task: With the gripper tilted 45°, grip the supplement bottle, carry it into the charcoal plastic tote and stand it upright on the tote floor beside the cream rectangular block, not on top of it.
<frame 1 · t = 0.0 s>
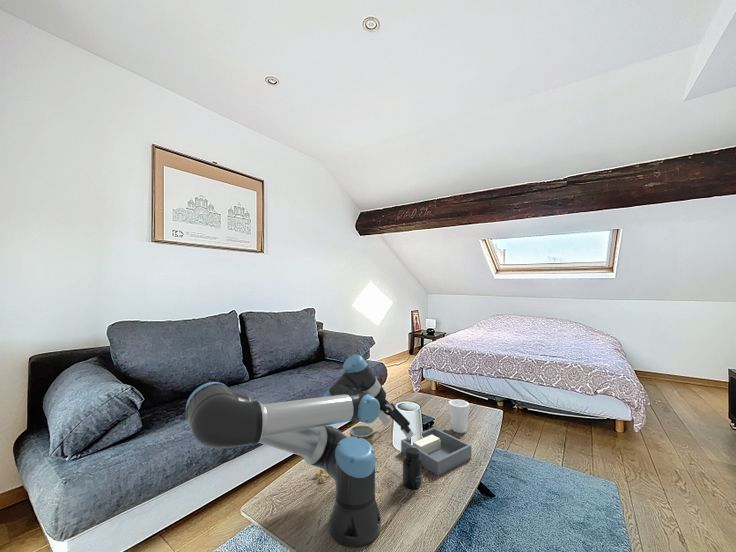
hand: (398, 429, 121), 15 cm above the table, tool tilted 35°, fingers open, 13 cm apart
tote: (435, 457, 129), on the table
dice set: (321, 479, 116), on the table
cream rectangular block: (426, 449, 133), point 1 cm above the table, touching tote
supplement bottle: (412, 485, 112), on the table
ceramic cup: (365, 455, 132), on the table
foam cup: (459, 430, 154), on the table
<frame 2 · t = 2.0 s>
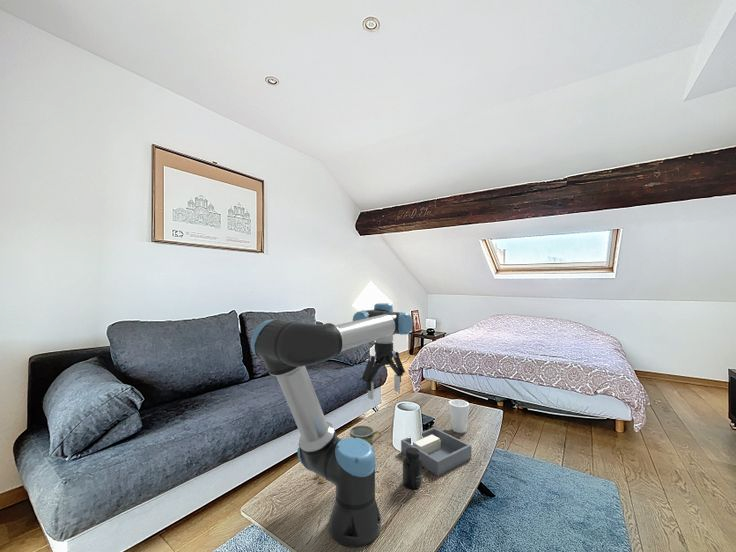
hand: (384, 394, 127), 27 cm above the table, tool pointing down, fingers open, 13 cm apart
nothing on the table moved.
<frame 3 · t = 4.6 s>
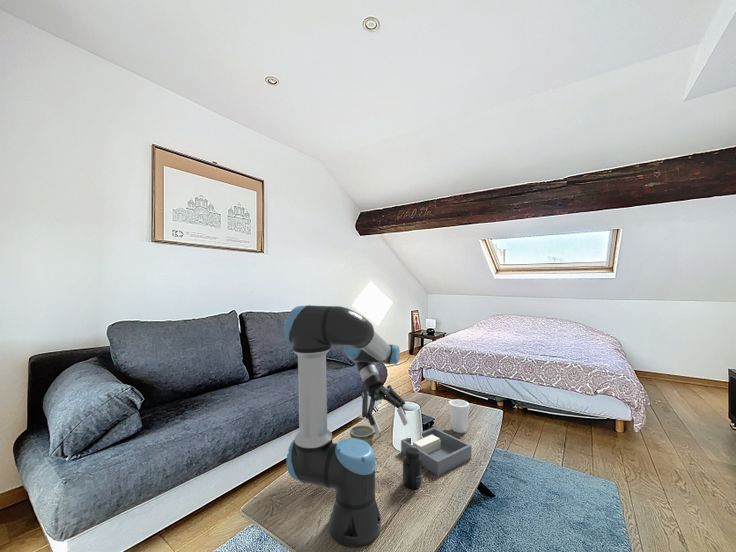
hand: (393, 428, 121), 16 cm above the table, tool tilted 45°, fingers open, 13 cm apart
nothing on the table moved.
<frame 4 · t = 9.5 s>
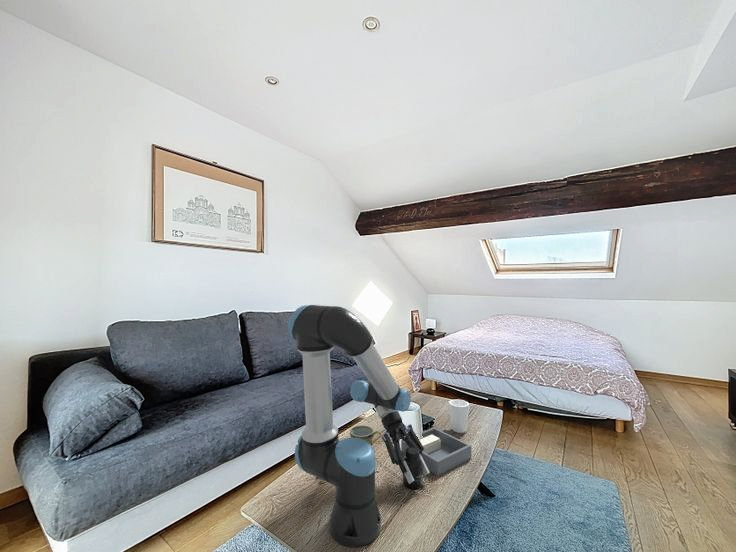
hand: (419, 478, 109), 4 cm above the table, tool tilted 45°, fingers closed on supplement bottle, 7 cm apart
supplement bottle: (412, 485, 112), on the table, touching gripper
everything else where it was.
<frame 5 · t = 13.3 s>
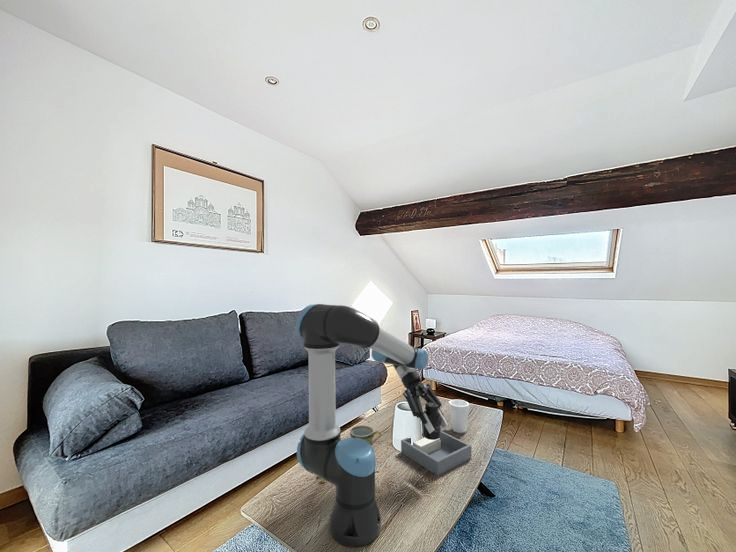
hand: (438, 428, 118), 17 cm above the table, tool tilted 45°, fingers closed on supplement bottle, 7 cm apart
supplement bottle: (431, 436, 121), point 13 cm above the table, touching gripper
everything else where it was.
when the fingers open (6 cm above the table, at t = 17.3 s): supplement bottle drops 1 cm, resting on tote.
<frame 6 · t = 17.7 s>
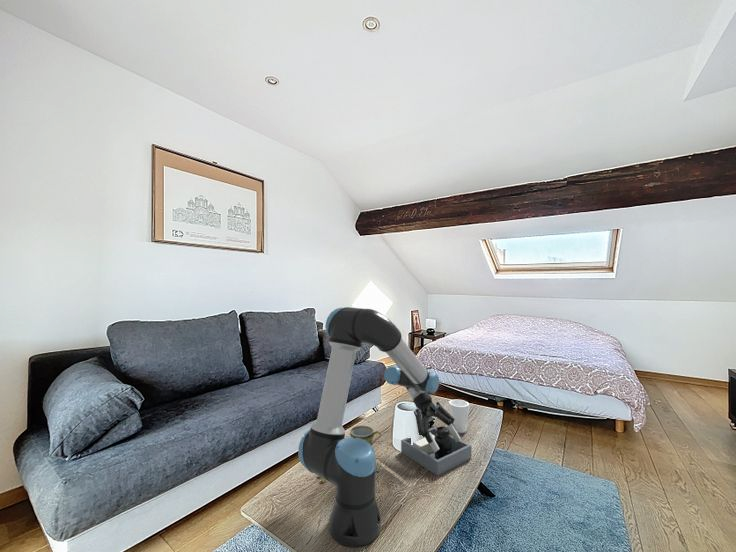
hand: (448, 445, 124), 7 cm above the table, tool tilted 45°, fingers open, 12 cm apart
supplement bottle: (443, 459, 126), point 1 cm above the table, touching tote
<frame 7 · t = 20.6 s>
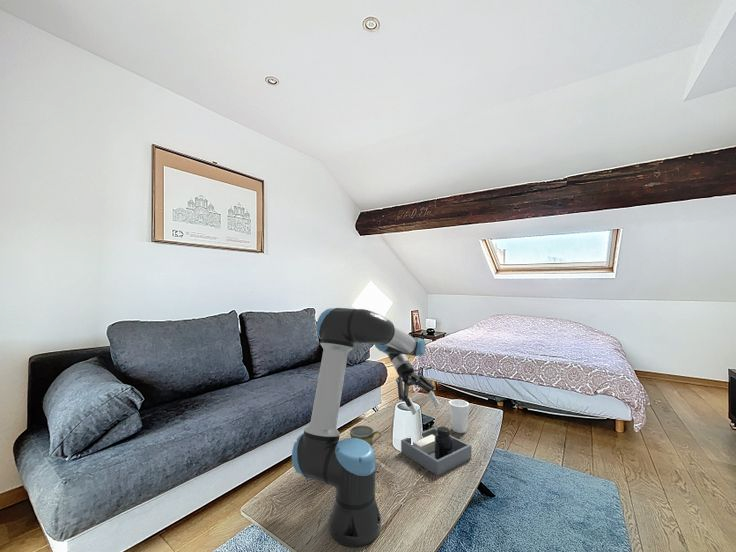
hand: (426, 409, 134), 18 cm above the table, tool tilted 45°, fingers open, 13 cm apart
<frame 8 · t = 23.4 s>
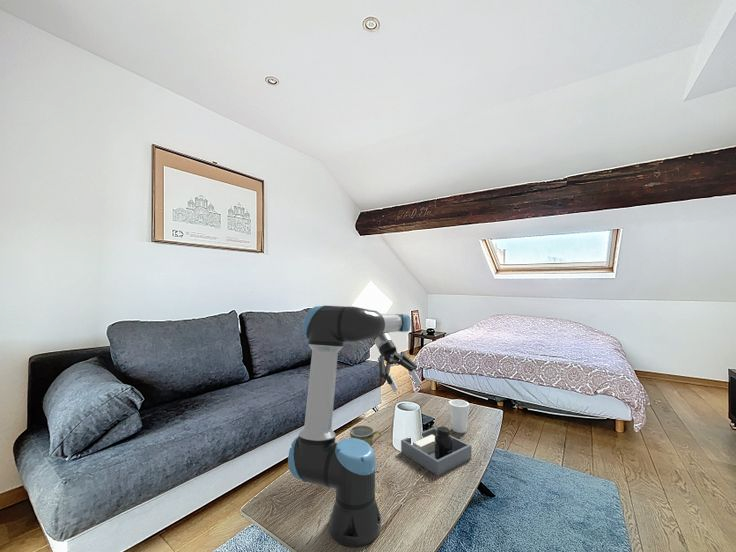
hand: (408, 387, 133), 28 cm above the table, tool tilted 45°, fingers open, 13 cm apart
at the end: supplement bottle inside the target area on the tote (1.7 cm from its centre), point 0.8 cm above the tote's base; supplement bottle tilted 0°; the gripper is holding nothing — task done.
